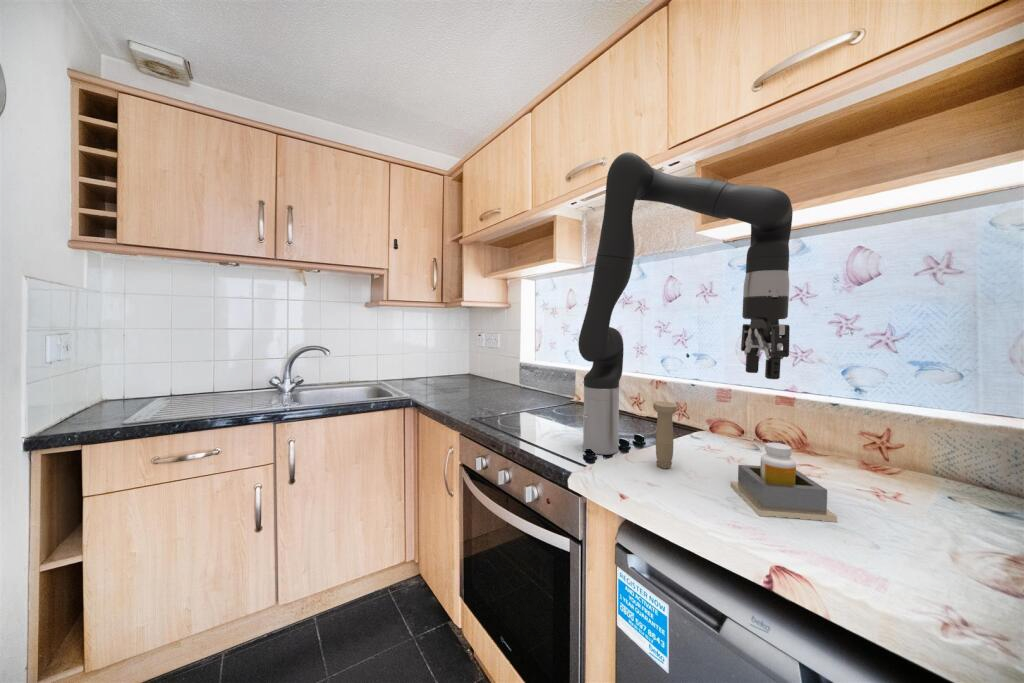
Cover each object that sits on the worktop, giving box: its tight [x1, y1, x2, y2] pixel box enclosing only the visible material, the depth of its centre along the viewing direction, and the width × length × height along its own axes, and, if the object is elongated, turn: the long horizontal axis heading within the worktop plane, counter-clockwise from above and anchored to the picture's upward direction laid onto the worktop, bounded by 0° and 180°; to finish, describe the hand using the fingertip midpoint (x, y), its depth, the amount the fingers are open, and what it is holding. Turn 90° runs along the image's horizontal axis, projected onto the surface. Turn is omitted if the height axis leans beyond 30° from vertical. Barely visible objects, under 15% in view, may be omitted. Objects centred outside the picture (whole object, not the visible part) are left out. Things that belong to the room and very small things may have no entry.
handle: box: [652, 400, 678, 469], centre depth 86 cm, size 5×6×15 cm
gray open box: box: [730, 464, 838, 523], centre depth 68 cm, size 12×12×5 cm
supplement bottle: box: [760, 442, 797, 485], centre depth 69 cm, size 5×5×10 cm
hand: (761, 375), depth 74 cm, fingers open, 8 cm apart
